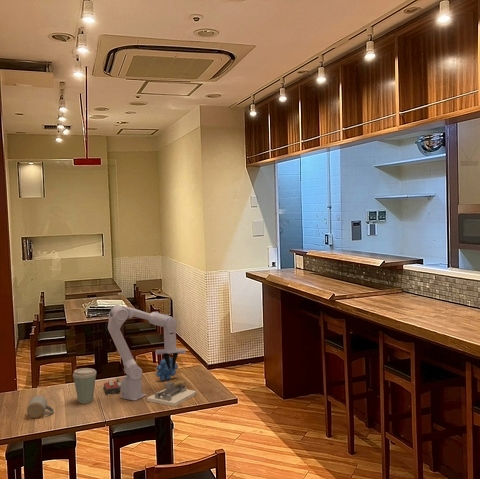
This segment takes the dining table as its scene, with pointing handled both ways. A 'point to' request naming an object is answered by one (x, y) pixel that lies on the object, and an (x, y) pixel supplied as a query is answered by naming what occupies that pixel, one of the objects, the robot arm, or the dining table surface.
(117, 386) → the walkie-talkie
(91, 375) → the disposable coffee cup
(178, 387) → the strap
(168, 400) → the latch base plate
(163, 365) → the grapes
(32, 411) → the ceramic mug
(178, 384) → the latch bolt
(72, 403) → the dining table surface
